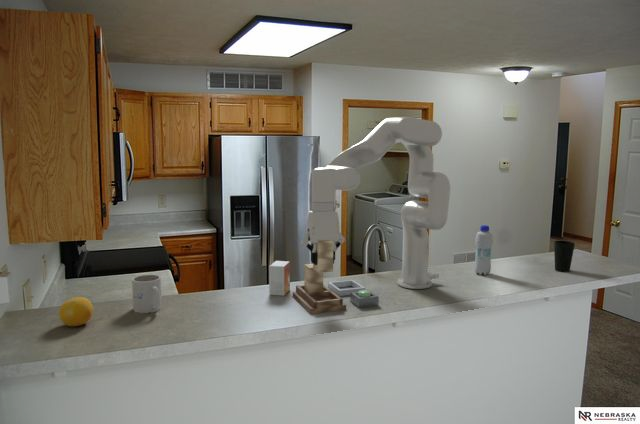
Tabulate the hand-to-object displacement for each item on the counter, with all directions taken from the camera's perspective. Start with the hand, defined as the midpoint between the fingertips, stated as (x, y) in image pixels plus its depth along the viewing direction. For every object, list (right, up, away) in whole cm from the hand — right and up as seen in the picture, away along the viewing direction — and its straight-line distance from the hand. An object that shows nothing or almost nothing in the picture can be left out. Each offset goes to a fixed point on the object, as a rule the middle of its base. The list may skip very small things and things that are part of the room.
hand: (323, 262), depth 158 cm
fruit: (-72, -17, -14) cm, 75 cm away
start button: (+14, -13, +6) cm, 20 cm away
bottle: (+65, -9, +43) cm, 78 cm away
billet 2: (0, -2, 0) cm, 2 cm away
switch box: (+14, -14, +6) cm, 20 cm away
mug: (-55, -15, -2) cm, 57 cm away
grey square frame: (+8, -12, +20) cm, 24 cm away
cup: (+100, -8, +48) cm, 111 cm away
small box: (-15, -12, +17) cm, 26 cm away
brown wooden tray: (-2, -14, +6) cm, 15 cm away
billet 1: (-3, -12, +10) cm, 16 cm away
